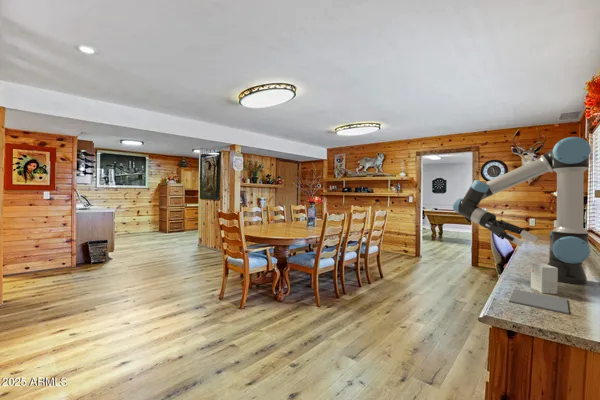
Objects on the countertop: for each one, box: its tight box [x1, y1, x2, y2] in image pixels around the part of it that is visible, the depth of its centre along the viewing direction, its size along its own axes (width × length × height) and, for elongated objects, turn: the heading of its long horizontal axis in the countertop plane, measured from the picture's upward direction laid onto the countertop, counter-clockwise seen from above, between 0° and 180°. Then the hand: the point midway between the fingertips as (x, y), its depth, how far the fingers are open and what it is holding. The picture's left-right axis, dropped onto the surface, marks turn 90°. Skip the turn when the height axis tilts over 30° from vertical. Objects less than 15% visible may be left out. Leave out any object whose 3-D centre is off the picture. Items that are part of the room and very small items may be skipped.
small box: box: [530, 262, 559, 295], centre depth 121 cm, size 8×6×10 cm
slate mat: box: [508, 288, 570, 315], centre depth 108 cm, size 18×16×1 cm
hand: (529, 242), depth 129 cm, fingers open, 13 cm apart
